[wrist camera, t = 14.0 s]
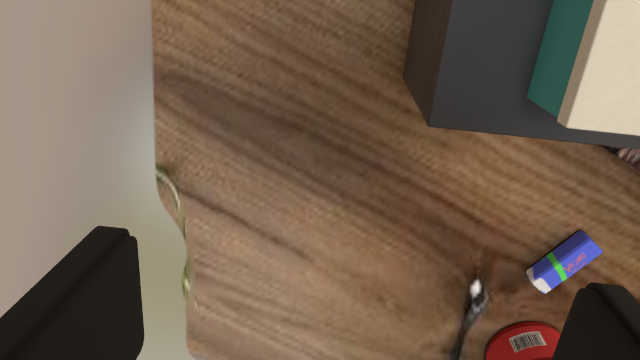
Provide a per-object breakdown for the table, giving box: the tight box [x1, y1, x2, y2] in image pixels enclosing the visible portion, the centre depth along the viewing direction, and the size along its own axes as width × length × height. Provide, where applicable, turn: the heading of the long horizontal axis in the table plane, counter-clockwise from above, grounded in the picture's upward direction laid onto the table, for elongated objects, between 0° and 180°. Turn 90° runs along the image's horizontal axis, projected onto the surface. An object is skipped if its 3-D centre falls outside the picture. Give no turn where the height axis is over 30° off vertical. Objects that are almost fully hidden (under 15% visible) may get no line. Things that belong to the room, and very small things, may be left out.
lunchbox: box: [527, 0, 640, 136], centre depth 19 cm, size 8×5×5 cm, turn 175°
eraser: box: [526, 230, 603, 294], centre depth 40 cm, size 2×6×2 cm, turn 138°
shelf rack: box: [403, 0, 640, 149], centre depth 27 cm, size 14×12×13 cm
